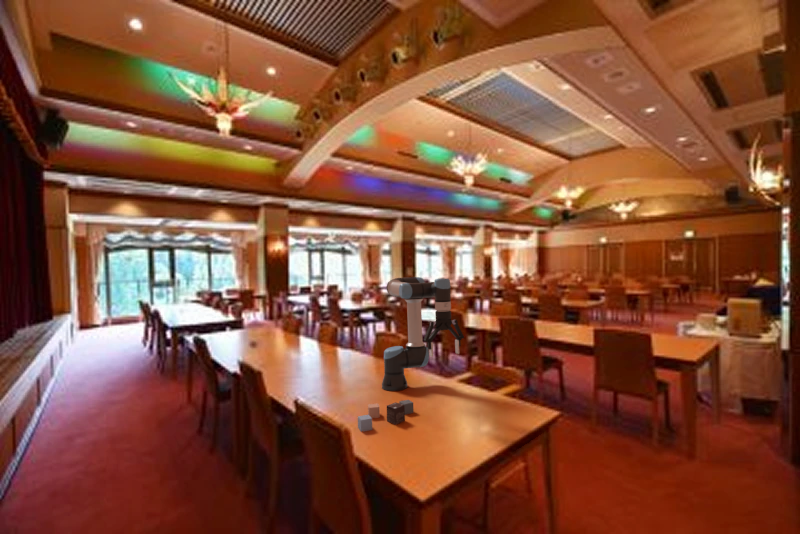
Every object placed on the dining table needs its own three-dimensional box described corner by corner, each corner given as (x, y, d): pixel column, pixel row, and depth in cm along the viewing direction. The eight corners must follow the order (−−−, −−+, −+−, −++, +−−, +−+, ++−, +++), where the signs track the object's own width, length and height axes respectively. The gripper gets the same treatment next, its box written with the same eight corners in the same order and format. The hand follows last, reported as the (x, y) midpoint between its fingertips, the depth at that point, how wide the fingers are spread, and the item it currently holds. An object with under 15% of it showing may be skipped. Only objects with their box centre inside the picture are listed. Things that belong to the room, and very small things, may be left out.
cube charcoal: (399, 411, 185) (399, 401, 185) (408, 409, 187) (408, 399, 188) (404, 414, 181) (404, 404, 181) (413, 412, 183) (413, 402, 183)
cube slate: (357, 427, 167) (357, 416, 167) (368, 425, 169) (368, 414, 169) (361, 432, 163) (360, 420, 163) (372, 429, 164) (371, 418, 165)
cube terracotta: (368, 414, 182) (367, 404, 182) (378, 413, 183) (378, 403, 183) (369, 418, 177) (368, 407, 178) (379, 417, 178) (379, 406, 178)
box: (396, 417, 177) (395, 401, 178) (405, 421, 173) (404, 404, 173) (386, 421, 173) (386, 405, 173) (395, 425, 169) (395, 408, 169)
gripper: (421, 312, 175) (423, 358, 175) (470, 309, 183) (471, 353, 183) (416, 311, 182) (417, 355, 182) (462, 308, 190) (464, 350, 190)
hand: (444, 354), depth 182 cm, fingers open, 13 cm apart
